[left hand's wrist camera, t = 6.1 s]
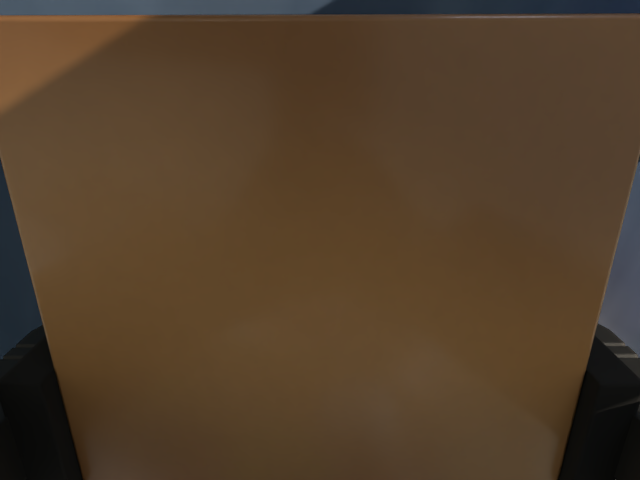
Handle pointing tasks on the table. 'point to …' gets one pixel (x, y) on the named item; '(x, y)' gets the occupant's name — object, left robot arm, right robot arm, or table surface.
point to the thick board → (320, 234)
